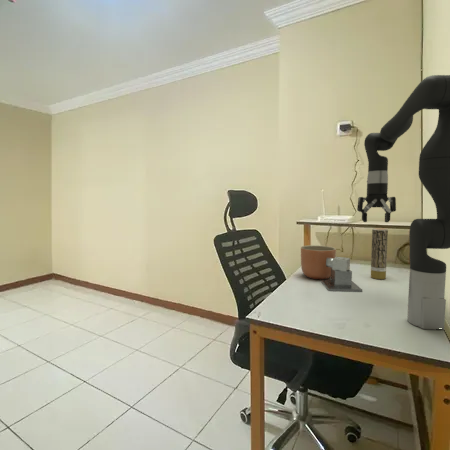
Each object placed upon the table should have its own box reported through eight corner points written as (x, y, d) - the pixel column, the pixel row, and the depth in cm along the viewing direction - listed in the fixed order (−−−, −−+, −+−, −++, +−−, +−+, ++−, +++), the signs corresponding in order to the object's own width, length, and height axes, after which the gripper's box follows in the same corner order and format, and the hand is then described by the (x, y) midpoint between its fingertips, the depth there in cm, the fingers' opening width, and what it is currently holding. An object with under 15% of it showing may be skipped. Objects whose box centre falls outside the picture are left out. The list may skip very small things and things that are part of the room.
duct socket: (362, 291, 122) (362, 273, 121) (328, 290, 123) (328, 272, 123) (351, 282, 135) (352, 266, 135) (321, 281, 137) (321, 265, 136)
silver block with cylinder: (349, 281, 130) (350, 258, 129) (346, 285, 125) (346, 260, 124) (328, 278, 135) (329, 255, 134) (324, 281, 130) (325, 258, 130)
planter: (305, 271, 158) (306, 244, 156) (338, 275, 149) (339, 246, 147) (295, 278, 143) (296, 248, 142) (331, 283, 134) (331, 251, 133)
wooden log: (387, 280, 140) (390, 229, 138) (372, 279, 141) (374, 229, 139) (383, 276, 146) (385, 228, 144) (368, 275, 148) (370, 228, 146)
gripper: (362, 182, 113) (361, 222, 115) (400, 181, 112) (398, 222, 113) (356, 183, 121) (354, 221, 122) (391, 183, 119) (389, 221, 121)
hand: (375, 222), depth 118 cm, fingers open, 8 cm apart
